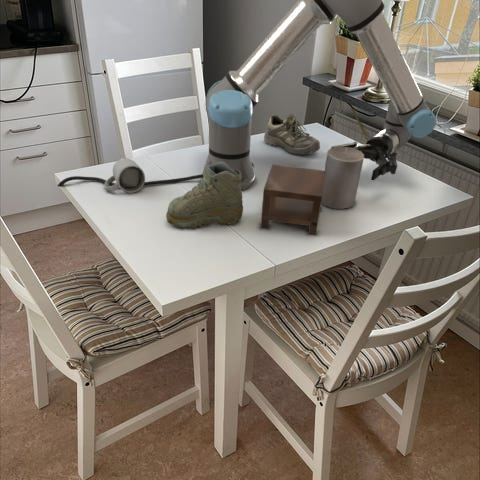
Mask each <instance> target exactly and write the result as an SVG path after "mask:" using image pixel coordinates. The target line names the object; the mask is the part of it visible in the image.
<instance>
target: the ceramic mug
mask: <svg viewBox="0 0 480 480" xmlns="http://www.w3.org/2000/svg"><path fill="white" fill-rule="evenodd" d="M105 180H106V182H105V183H103V186H104V188H105V190H106V192H109V193H113V192H115V191H117V190H122V192H125V193H127V194H132V193H137V192H139V191H141V189H142V188H143V187H144V186H143V185H144V183H145V182H146V175H145V172H144V170H143V169H142V167H140V166H139V165H138V164H137V163H136V161H135V160H132V159H131V158H127V157H122V158H120V159H118V160H117V161H115V162H114V164H113V166H112V176H110V177H108V178H107V179H105ZM110 182H112V183H115V182H116V183H115V185H113V186H110V185H109V183H110ZM127 187H132V188H127Z"/></svg>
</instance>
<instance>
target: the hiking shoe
mask: <svg viewBox="0 0 480 480" xmlns="http://www.w3.org/2000/svg"><path fill="white" fill-rule="evenodd" d="M263 140H264V142H265V143H266V144H268V145H270V146H273V147H277V146H279V147H282V148H283V150H284V151H286V152H288V153H289V154H293V155H310V154H313V153H316V152H318V151H319V150H320V149H321V142H320V140H319V139H317V138H316V137H314V136H311V134H310V133H309V132H308V133H307V129H306V127H304V125H303V124H302V123H301V122H300V121H299V119H298V118H297V116H296V115H295V114H290V115H288V116H286V118H285V119H281V118H280V117H279V116H278V115H271V116H270V117H269V118H268V120H267V124H266V128H265V132H264V134H263Z"/></svg>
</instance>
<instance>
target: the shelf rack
mask: <svg viewBox="0 0 480 480" xmlns="http://www.w3.org/2000/svg"><path fill="white" fill-rule="evenodd" d="M325 172H326V171H325V170H323V169H316V168H315V169H313V168H305V167H299V166H298V167H296V166H289V165H288V166H287V165H279V164H271V167H270V170H269V173H268V176H267V179H266V182H265V184H264V187H263V191H262V192H263V193H262V206H261V207H262V208H261V218H260V219H261V220H260V229H267V230H268V229H269V225H270V222H277V223H285V224H293V225H301V226H309V229H308V235H312V236H316V235H317V230H318V226H319V218H320V211H321V205H322V203H321V200H322V193H323V186H324V179H325Z"/></svg>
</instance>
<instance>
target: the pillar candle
mask: <svg viewBox="0 0 480 480" xmlns="http://www.w3.org/2000/svg"><path fill="white" fill-rule="evenodd" d="M364 159H365V158H364V154H363V153H362V152H361V151H359V150H356V149H353V148H349V147H334V148H329V149H328V150H327V154H326V159H325V166H324V171H326V172H325V179H324V186H323V193H322V200H321V205H324V206H326V207H328V208H330V209H335V210H343V209H349V208H352V207H353V206H354V205H355V202H356V198H357V194H358V188H359V184H360V179H361V173H362V168H363V163H364Z"/></svg>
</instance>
